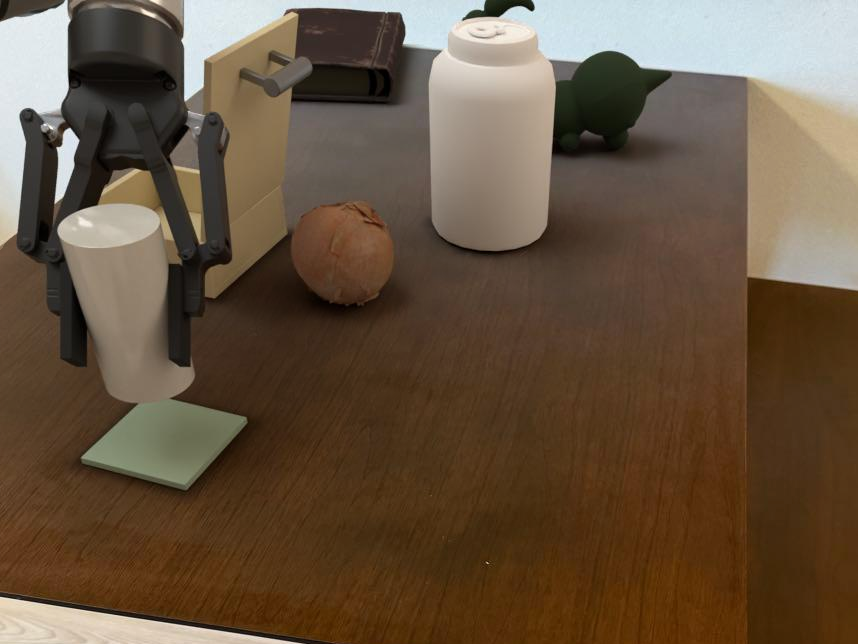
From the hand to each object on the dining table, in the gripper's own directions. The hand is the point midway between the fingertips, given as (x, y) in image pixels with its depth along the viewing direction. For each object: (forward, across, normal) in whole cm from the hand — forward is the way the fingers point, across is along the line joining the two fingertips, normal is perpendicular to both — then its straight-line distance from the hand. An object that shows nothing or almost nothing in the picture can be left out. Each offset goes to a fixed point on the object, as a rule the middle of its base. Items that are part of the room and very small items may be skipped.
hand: (127, 362), depth 66 cm
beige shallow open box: (-18, +5, -32) cm, 37 cm away
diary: (-57, -6, -71) cm, 91 cm away
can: (-22, -26, -36) cm, 50 cm away
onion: (-12, -12, -26) cm, 31 cm away
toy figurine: (-39, -36, -53) cm, 75 cm away
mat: (+4, 0, -9) cm, 10 cm away
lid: (-26, -4, -20) cm, 33 cm away
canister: (0, 0, -5) cm, 5 cm away
